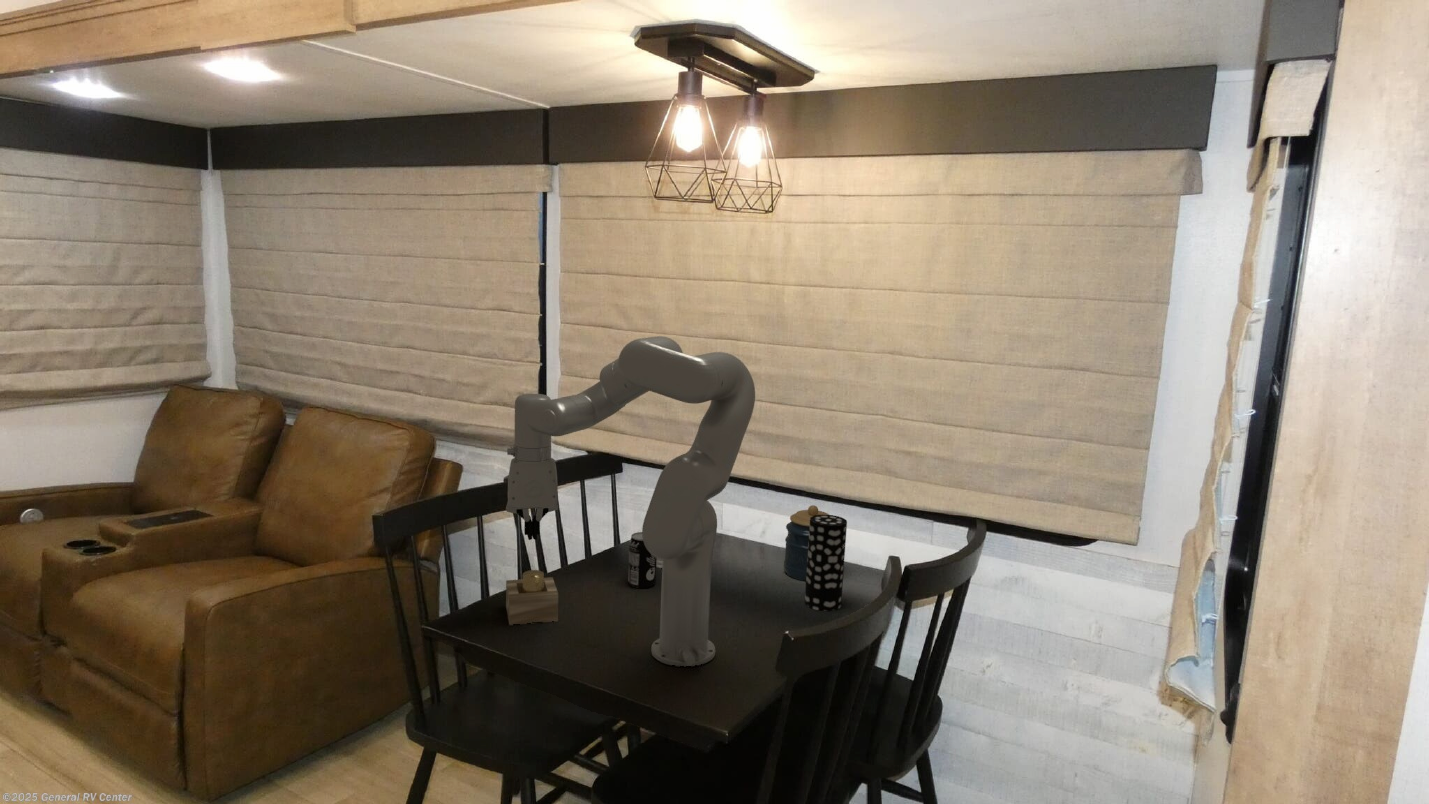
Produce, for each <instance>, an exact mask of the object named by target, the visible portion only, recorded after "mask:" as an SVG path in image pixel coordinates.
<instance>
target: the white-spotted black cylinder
mask: <svg viewBox="0 0 1429 804" xmlns="http://www.w3.org/2000/svg"><path fill="white" fill-rule="evenodd" d="M847 527H848V521H847V519H846V518H844V517H842V516H839V515H833V514H829V515H815V516H812V517H810V527H809V542H808V558H807V574H806V581H805V592H804V605H805V606H807V607H808V608H810V609H813V610H817V611H822V612H832V611H837V610H839V609H840V608H842V597H843V586H844V585H843V583H844V572H845V571H844V569H845V558H846V540H847Z"/></svg>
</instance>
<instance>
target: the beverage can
mask: <svg viewBox="0 0 1429 804" xmlns="http://www.w3.org/2000/svg"><path fill="white" fill-rule="evenodd" d="M628 543H629V544H628V569H627V570H628V577H627V581H628V583H629V585H630V586H631V587H633V588H636V589H648V588H652V587H653V586H654V584H655V583H656V582H657V567H656V561H657V558H656V557H655V556H653V555H652V554H651V553H650V552H649V551H648V550H647V548H646V546H645V544H644V541H643V536H642V531H638V532H634V533H632V534H631V537H630V539H629V542H628Z"/></svg>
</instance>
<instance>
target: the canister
mask: <svg viewBox="0 0 1429 804" xmlns="http://www.w3.org/2000/svg"><path fill="white" fill-rule="evenodd" d="M815 515H830V514H829V513H828V512H825V511H821V510H819V508H818V506H816V505H813V504H812V505H810V506H808V509H802V510H797V511H796V513H793V514H791V515H790V517H789V519H790V522H788V523H787V524H786V525H785V529H786V531H787V536H785V553H784V561H783V568H784V573H785V572H786V573H787V574H786V573H785V574H786V575H787V576H788V577H790V576H791V578H793V579H795V578H796V580H799V581H804V580H806V574H807V558H808V542H809V527H810V517H812V516H815Z"/></svg>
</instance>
